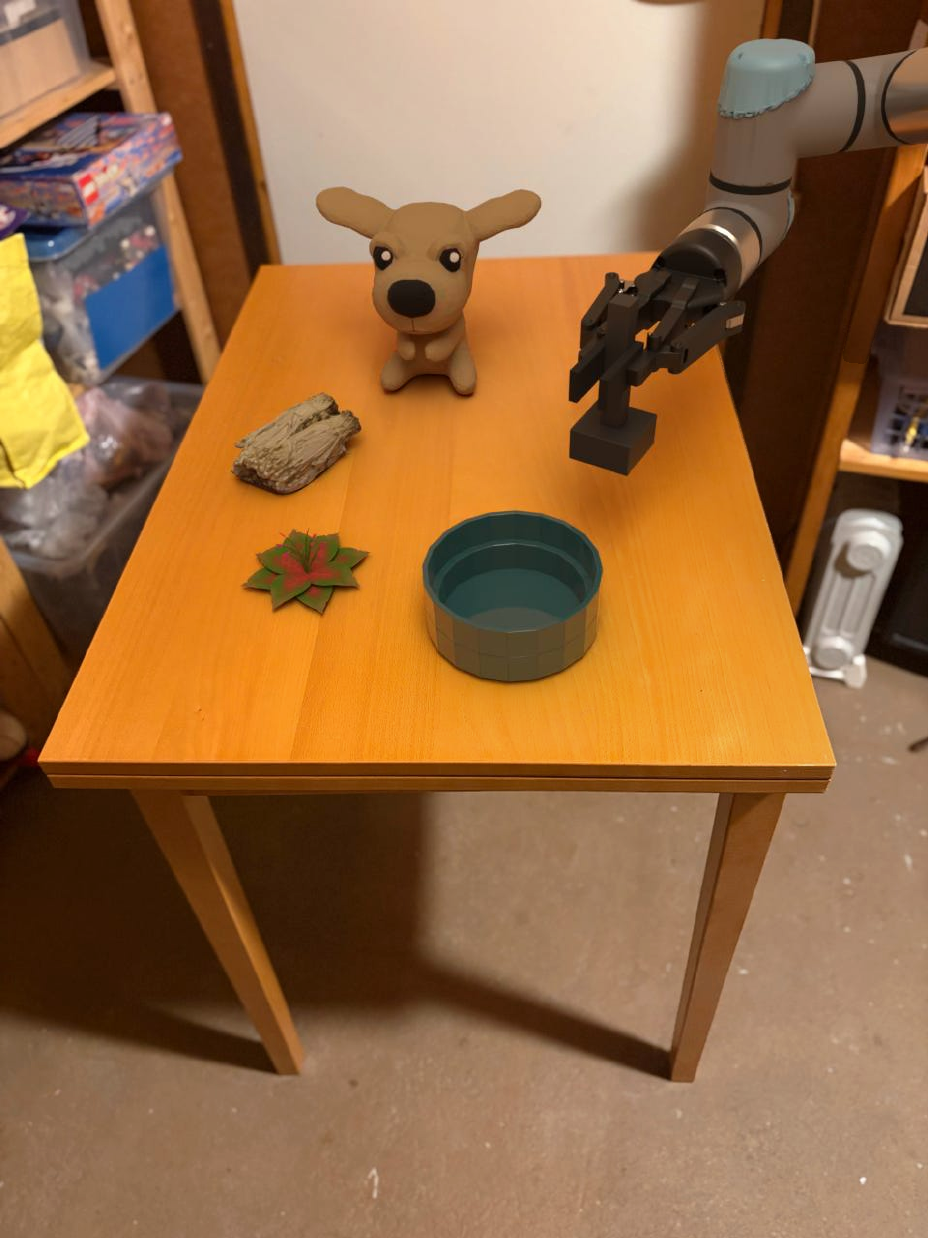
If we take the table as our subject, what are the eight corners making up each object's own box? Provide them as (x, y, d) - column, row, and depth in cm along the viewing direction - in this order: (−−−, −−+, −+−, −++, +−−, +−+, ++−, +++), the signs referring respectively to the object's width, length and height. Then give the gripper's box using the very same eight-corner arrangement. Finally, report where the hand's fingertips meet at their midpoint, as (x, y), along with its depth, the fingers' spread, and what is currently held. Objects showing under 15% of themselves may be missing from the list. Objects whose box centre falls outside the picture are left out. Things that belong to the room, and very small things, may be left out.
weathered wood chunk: (310, 417, 107) (302, 376, 103) (372, 445, 102) (366, 402, 98) (215, 480, 99) (203, 437, 95) (278, 512, 95) (268, 469, 91)
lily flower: (393, 552, 90) (388, 515, 86) (327, 634, 82) (320, 597, 79) (290, 521, 94) (281, 484, 90) (218, 597, 86) (206, 560, 83)
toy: (313, 412, 107) (281, 241, 93) (353, 328, 121) (331, 168, 107) (527, 423, 104) (528, 247, 90) (544, 336, 117) (547, 170, 103)
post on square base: (654, 442, 82) (672, 291, 72) (627, 476, 79) (642, 323, 69) (597, 426, 84) (606, 277, 74) (568, 458, 81) (574, 307, 71)
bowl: (625, 598, 84) (631, 543, 79) (547, 711, 75) (549, 657, 70) (483, 545, 90) (481, 492, 85) (395, 645, 81) (387, 591, 76)
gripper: (775, 324, 85) (672, 458, 71) (626, 290, 91) (505, 408, 77) (791, 243, 80) (684, 371, 66) (632, 212, 86) (504, 324, 72)
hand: (588, 390), depth 72 cm, fingers closed on post on square base, 2 cm apart
